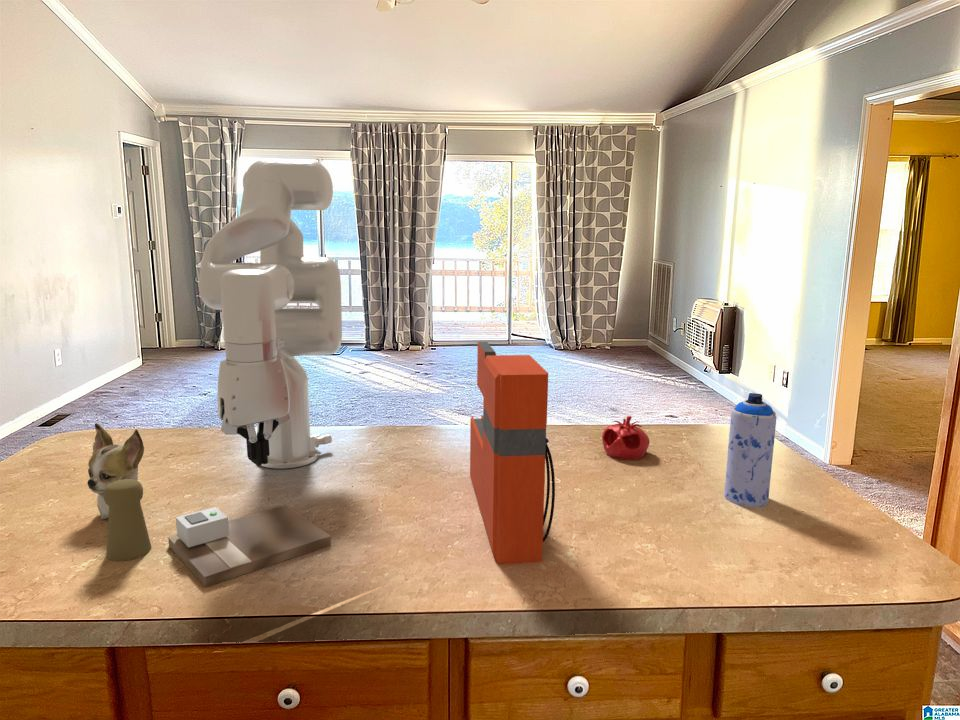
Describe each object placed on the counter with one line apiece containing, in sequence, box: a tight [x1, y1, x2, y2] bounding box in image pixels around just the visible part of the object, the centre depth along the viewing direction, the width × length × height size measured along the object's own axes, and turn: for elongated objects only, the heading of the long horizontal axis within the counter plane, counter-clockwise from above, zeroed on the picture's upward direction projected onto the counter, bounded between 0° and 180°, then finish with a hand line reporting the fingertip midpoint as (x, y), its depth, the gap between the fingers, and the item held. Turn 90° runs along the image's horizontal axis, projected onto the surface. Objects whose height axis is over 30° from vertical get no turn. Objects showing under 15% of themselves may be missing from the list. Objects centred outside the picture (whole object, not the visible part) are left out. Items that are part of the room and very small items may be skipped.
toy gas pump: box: [469, 341, 556, 565], centre depth 112 cm, size 9×35×28 cm, turn 8°
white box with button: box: [175, 506, 229, 548], centre depth 101 cm, size 6×5×3 cm
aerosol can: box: [723, 392, 777, 508], centre depth 119 cm, size 8×8×20 cm
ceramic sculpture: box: [87, 422, 145, 520], centre depth 111 cm, size 11×9×15 cm
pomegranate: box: [601, 415, 650, 460], centre depth 143 cm, size 10×10×9 cm
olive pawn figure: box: [103, 479, 152, 562], centre depth 99 cm, size 6×6×11 cm
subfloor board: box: [167, 504, 332, 588], centre depth 102 cm, size 19×16×2 cm
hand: (259, 462), depth 106 cm, fingers closed
